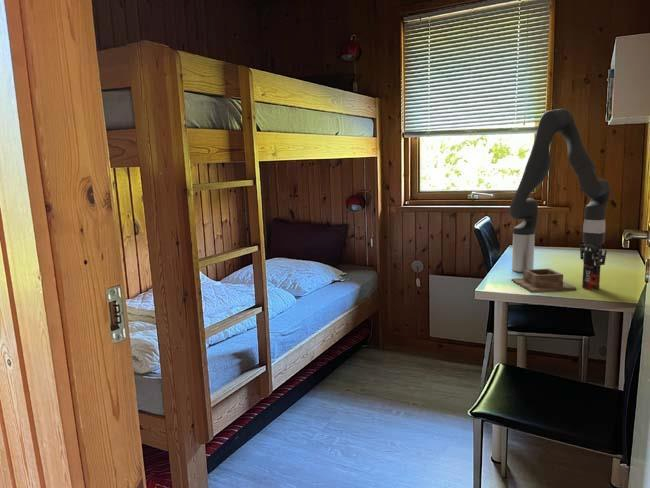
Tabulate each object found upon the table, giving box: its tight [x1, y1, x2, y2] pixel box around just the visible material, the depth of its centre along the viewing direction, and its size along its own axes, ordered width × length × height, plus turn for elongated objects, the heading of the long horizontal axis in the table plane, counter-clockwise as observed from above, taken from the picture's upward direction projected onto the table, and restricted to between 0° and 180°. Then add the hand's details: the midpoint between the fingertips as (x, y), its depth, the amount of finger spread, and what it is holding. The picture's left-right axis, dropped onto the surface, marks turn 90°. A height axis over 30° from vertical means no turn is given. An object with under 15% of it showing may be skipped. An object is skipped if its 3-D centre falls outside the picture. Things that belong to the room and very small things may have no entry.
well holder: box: [511, 268, 577, 293], centre depth 200 cm, size 18×18×6 cm
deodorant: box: [581, 250, 601, 291], centre depth 193 cm, size 6×6×15 cm
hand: (591, 272), depth 193 cm, fingers closed on deodorant, 6 cm apart
